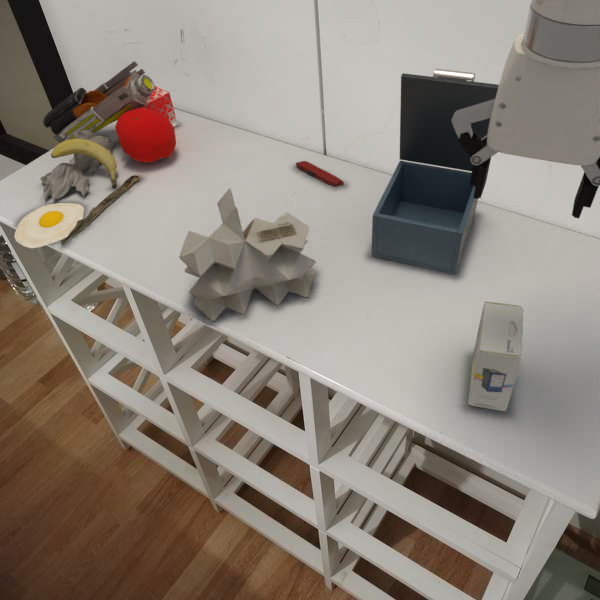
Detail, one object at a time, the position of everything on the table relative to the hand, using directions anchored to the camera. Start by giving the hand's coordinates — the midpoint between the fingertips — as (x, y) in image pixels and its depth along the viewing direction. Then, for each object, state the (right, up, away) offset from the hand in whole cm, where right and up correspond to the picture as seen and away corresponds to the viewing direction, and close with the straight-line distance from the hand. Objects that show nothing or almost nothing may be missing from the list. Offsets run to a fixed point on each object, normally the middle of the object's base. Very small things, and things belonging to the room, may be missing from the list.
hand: (526, 200), depth 59 cm
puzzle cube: (-60, +34, +70) cm, 98 cm away
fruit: (-66, +17, +57) cm, 89 cm away
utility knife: (-19, +15, +54) cm, 59 cm away
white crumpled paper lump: (-30, -9, +27) cm, 41 cm away
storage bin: (-2, +1, +40) cm, 40 cm away
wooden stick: (-61, +7, +52) cm, 80 cm away
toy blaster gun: (-66, +27, +59) cm, 93 cm away
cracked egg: (-71, +4, +50) cm, 87 cm away
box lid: (-1, +17, +31) cm, 35 cm away
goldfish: (-65, +14, +60) cm, 90 cm away
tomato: (-56, +27, +55) cm, 83 cm away
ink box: (+2, -22, +19) cm, 29 cm away
